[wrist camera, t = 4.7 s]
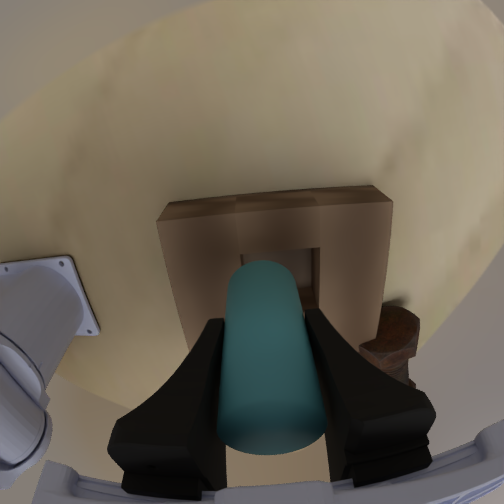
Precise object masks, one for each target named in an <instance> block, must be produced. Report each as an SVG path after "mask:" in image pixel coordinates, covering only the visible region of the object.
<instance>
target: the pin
mask: <svg viewBox="0 0 504 504" xmlns="http://www.w3.org/2000/svg"><path fill="white" fill-rule="evenodd" d="M327 423H328V422H327V417H326V412H325V407H324V403H323V398H322V393H321V389H320V384H319V380H318V375H317V371H316V366H315V362H314V357H313V353H312V349H311V344H310V340H309V336H308V331H307V327H306V323H305V319H304V315H303V310H302V306H301V302H300V298H299V294H298V290H297V286H296V282H295V279H294V277H293V275H292V274H291V272H290V271H289V270H288V269H287V268H286V267H284V266H282V265H281V264H279V263H276V262H273V261H266V260H259V261H253V262H250V263H247V264H245V265H243V266H241V267H240V268H239V269H237V270H236V271H235V272H234V274H233V275H232V276H231V278H230V280H229V283H228V289H227V301H226V312H225V324H224V336H223V349H222V362H221V375H220V388H219V402H218V417H217V434H218V437H219V438H220V439H221V441H222V442H223V443H225V444H226V445H228V446H229V447H231V448H233V449H235V450H238V451H241V452H244V453H249V454H255V455H277V454H284V453H289V452H293V451H296V450H299V449H302V448H305V447H307V446H309V445H310V444H312V443H314V442H315V441H317V440H318V439H319V438H320V437H321V436H322V435H323V434H324V432H325V430H326V428H327Z"/></svg>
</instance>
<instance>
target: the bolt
mask: <svg viewBox="0 0 504 504" xmlns="http://www.w3.org/2000/svg"><path fill="white" fill-rule="evenodd" d="M419 331H420V319H419V318H418V317H417V316H416V315H414V314H413V313H412V312H410V311H409V310H407V309H405V308H402V307H398V306H386V307H381V312H380V318H379V323H378V329H377V334H376V338H375V339H372V340H370V341H367V342H365V343H362V344H360V345H359V346H358V347H359V351H360V352H358V353H359V354H360V355H362V356H363V357H364V358H365V359H366V360H368V361H369V362H370V363H371V364H373V365H374V366H375V367H377V368H378V369H380V370H381V371H383V372H384V373H386V374H388V375H389V376H391V377H393V378H394V379H396V380H398V381H400V382H402V383H404V384H406V385H408V386H411V387H413V388H415V389H416V384H415V383H414V382H413V381H412V380H411V379H409V374H408V359H409V358H412V357H414V356H416V350H417V344H418V338H419Z"/></svg>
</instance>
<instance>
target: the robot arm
mask: <svg viewBox="0 0 504 504" xmlns="http://www.w3.org/2000/svg"><path fill="white" fill-rule="evenodd" d="M61 261H62V262H63V263H64V264H62V262H61ZM7 268H8V269H7ZM305 323H306V327H307V331H308V336H309V340H310V344H311V349H312V353H313V357H314V362H315V366H316V371H317V375H318V380H319V384H320V389H321V393H322V398H323V403H324V407H325V412H326V417H327V422H328V423H327V428H326V430H325V432H324V433H325V440H326V446H327V455H328V463H329V472H330V482H329V483H328V482H324V481H304V482H295V483H286V484H276V485H261V486H240V487H239V486H238V487H229V488H227V475H226V444H225V443H223V442H222V441H221V439H220V438H219V437H218V434H217V417H218V402H219V388H220V375H221V362H222V349H223V336H224V324H225V322H224V318H212V319H209V320H208V321H207V323H206V325H205V327H204V329H203V331H202V333H201V334H200V336H199V338H198V340H197V341H196V343H195V344H194V346H193V348H192V349H191V351H190V352H189V354H188V355H187V357H186V358H185V359H184V361H183V362H182V364H181V365H180V366H179V367H178V369H177V370H176V371H175V372H174V374H173V375H172V376H171V377H170V378H169V379H168V380H167V381H166V383H165V384H164V385H163V386H162V387H161V388H160V389H159V390H158V391H156V392H155V393H154V394H153V395H152V396H151V397H150V398H148V399H147V400H146V401H145V402H143V403H142V404H141V405H140V406H138V407H137V408H135V409H134V410H132V411H131V412H129V413H128V414H126V415H125V416H123V417H121V418H120V419H118V420H117V421H116V423H115V426H114V428H113V430H112V433H111V437H110V440H109V444H108V447H107V451H108V454H109V455H110V457H111V458H112V459H113V460H114V461H115V462H116V463H117V464H118V465H119V466H120V467H121V468H122V470H123V471H124V475H123V480H122V483H117V482H111V481H106V480H100V479H96V478H91V477H87V476H82V475H79V474H78V473H77V472H76V471H75V470H74V469H73V468H71V467H69V466H67V465H64V464H60V463H56V462H53V461H50V460H46V462H45V465H44V467H43V470H42V473H41V476H40V479H39V482H38V485H37V488H36V491H35V494H34V497H33V501H32V504H469V503H471V502H473V501H475V500H477V499H478V498H480V497H482V496H484V495H486V494H488V493H490V492H492V491H493V490H495V489H497V488H499V487H500V486H501V485H502V484H503V483H504V419H503V420H501V421H499V422H497V423H494V424H492V425H491V426H488V427H486V428H484V429H483V430H482V431H480V432H479V433H478V435H477V436H476V438H475V439H474V440H473V441H471V442H468V443H466V444H464V445H461V446H459V447H456V448H454V449H451V450H448V451H446V452H443V453H440V454H438V455H435V456H432V457H431V454H430V452H429V449H428V447H427V445H429V440H428V437H427V433H428V432H429V430H430V428H431V426H432V424H433V423H434V421H435V418H436V412H435V410H434V408H433V406H432V404H431V402H430V400H429V399H428V397H427V396H426V394H425V393H424V392H423V391H420V390H418V389H415V388H413V387H411V386H408V385H406V384H404V383H402V382H400V381H398V380H396V379H394V378H393V377H391V376H389V375H388V374H386V373H384V372H383V371H381V370H380V369H378V368H377V367H375V366H374V365H373V364H371V363H370V362H369V361H368V360H366V359H365V358H364V357H363V356H362V355H360V354H359V353H358V352H357V351H356V350H355V349H354V348H353V347H352V346H351V345H350V344H349V343H348V342H347V341H346V340H345V339H344V338H343V337H342V336H341V335H340V333H339V332H338V331H337V330H336V329H335V328H334V327H333V325H332V324H331V323H330V322H329V320H328V319H327V318H326V316H325V315H324V313H323V312H322V311H321V309H319V308H314V309H306V310H305ZM90 330H91V331H90ZM99 333H100V329H99V327H98V324H97V322H96V320H95V317H94V315H93V313H92V310H91V308H90V305H89V303H88V300H87V298H86V295H85V293H84V290H83V288H82V285H81V282H80V280H79V277H78V274H77V271H76V269H75V266H74V263H73V260H72V259H71V258H70V257H69V256H60V257H51V258H42V259H34V260H25V261H17V262H9V263H0V490H3V489H9V488H10V487H11V486H12V484H13V483H14V481H15V480H16V479H17V478H18V477H19V476H20V475H21V474H22V473H23V472H24V471H25V470H27V469H28V468H30V467H32V466H33V465H35V464H36V463H37V462H38V461H39V460H40V459H41V458H42V457H43V455H44V454H45V452H46V451H47V449H48V446H49V444H50V440H51V436H52V419H51V417H50V415H49V413H48V412H47V411H46V408H47V405H48V403H49V401H50V398H49V396H48V395H47V394H46V392H45V390H46V388H47V386H48V384H49V382H50V380H51V378H52V376H53V374H54V372H55V370H56V368H57V367H58V365H59V363H60V361H61V359H62V357H63V355H64V354H65V352H66V350H67V348H68V346H69V345H70V343H71V341H72V339H73V337H74V336H75V335H85V336H97V335H99Z"/></svg>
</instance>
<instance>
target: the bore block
mask: <svg viewBox="0 0 504 504" xmlns="http://www.w3.org/2000/svg"><path fill="white" fill-rule="evenodd" d="M392 213H393V201H392V200H391V199H390V198H388V197H387V196H386V195H385V194H383V193H382V192H381V191H379V190H378V189H377V188H376V187H374V186H373V185H370V186H349V187H331V188H315V189H301V190H287V191H275V192H263V193H252V194H242V195H232V196H222V197H212V198H203V199H195V200H186V201H178V202H170V203H168V205H167V206H166V208H165V209H164V211H163V212H162V214H161V215H160V217H159V218H158V220H157V221H156V223H157V228H158V232H159V237H160V241H161V246H162V250H163V254H164V259H165V263H166V267H167V271H168V275H169V279H170V283H171V287H172V291H173V295H174V299H175V302H176V306H177V310H178V314H179V317H180V321H181V324H182V328H183V331H184V335H185V338H186V342H187V345H188V349H189V352H190V351H191V349H192V348H193V346H194V344H195V343H196V341H197V340H198V338H199V336H200V334H201V333H202V331H203V329H204V327H205V325H206V323H207V321H208V320H209V319H212V318H224V322H225V312H226V301H227V289H228V283H229V280H230V278H231V276H232V275H233V274H234V272H235V271H236V270H237V269H239V268H240V267H241V266H243V265H245V264H247V263H250V262H253V261H259V260H266V261H273V262H276V263H279V264H281V265H282V266H284V267H286V268H287V269H288V270H289V271H290V272H291V274H292V275H293V277H294V279H295V282H296V286H297V290H298V294H299V298H300V302H301V306H302V310H303V315H304V319H305V310H306V309H314V308H319V309H321V311H322V312H323V313H324V315H325V316H326V318H327V319H328V320H329V322H330V323H331V324H332V325H333V327H334V328H335V329H336V330H337V331H338V332H339V333H340V335H341V336H342V337H343V338H344V339H345V340H346V341H347V342H348V343H349V344H350V345H351V346H352V347H353V348H354V349H355V350H356V351H357V352H360V351H359V347H358V346H359V345H360V344H362V343H365V342H367V341H370V340H372V339H375V338H376V334H377V329H378V323H379V318H380V312H381V306H382V300H383V293H384V286H385V279H386V272H387V264H388V255H389V246H390V236H391V225H392Z"/></svg>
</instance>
